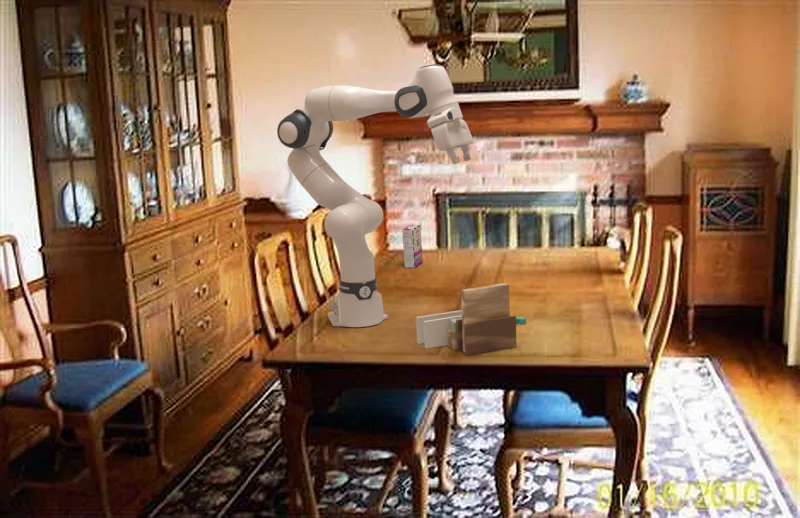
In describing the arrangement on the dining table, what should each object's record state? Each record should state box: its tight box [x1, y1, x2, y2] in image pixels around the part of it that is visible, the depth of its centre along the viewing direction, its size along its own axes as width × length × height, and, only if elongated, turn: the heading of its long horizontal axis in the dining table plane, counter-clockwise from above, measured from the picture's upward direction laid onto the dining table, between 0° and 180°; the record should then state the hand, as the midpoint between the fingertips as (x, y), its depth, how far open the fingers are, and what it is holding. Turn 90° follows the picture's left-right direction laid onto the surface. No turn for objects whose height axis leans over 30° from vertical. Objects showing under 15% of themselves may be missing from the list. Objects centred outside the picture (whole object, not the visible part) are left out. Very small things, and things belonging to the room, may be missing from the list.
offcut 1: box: [450, 318, 462, 333], centre depth 264 cm, size 4×5×3 cm
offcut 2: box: [448, 330, 458, 351], centre depth 265 cm, size 4×6×5 cm, turn 113°
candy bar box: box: [401, 224, 423, 269], centre depth 381 cm, size 11×5×16 cm, turn 162°
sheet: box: [460, 282, 511, 353], centre depth 261 cm, size 2×14×18 cm, turn 113°
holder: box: [415, 309, 462, 350], centre depth 270 cm, size 6×16×8 cm, turn 113°
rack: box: [456, 315, 517, 356], centre depth 262 cm, size 6×16×9 cm, turn 113°
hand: (462, 162), depth 270 cm, fingers open, 8 cm apart
